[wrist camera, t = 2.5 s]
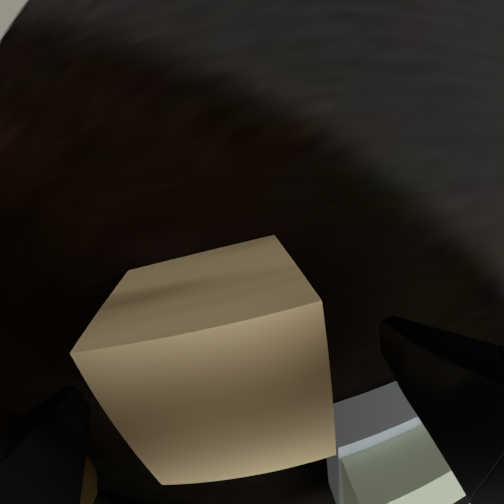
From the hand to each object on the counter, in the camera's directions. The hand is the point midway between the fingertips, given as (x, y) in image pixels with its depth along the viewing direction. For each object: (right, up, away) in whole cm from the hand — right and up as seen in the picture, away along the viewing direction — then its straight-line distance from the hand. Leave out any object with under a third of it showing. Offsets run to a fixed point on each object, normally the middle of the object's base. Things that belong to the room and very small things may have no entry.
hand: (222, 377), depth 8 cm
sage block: (+9, -8, +4) cm, 12 cm away
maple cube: (0, +1, +3) cm, 3 cm away
